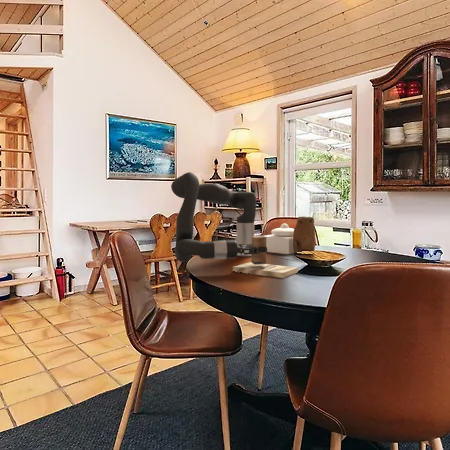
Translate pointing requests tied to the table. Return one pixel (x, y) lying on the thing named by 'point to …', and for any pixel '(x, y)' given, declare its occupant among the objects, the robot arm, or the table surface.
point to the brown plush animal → (304, 235)
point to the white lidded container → (280, 240)
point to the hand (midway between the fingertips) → (264, 248)
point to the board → (266, 269)
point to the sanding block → (260, 257)
